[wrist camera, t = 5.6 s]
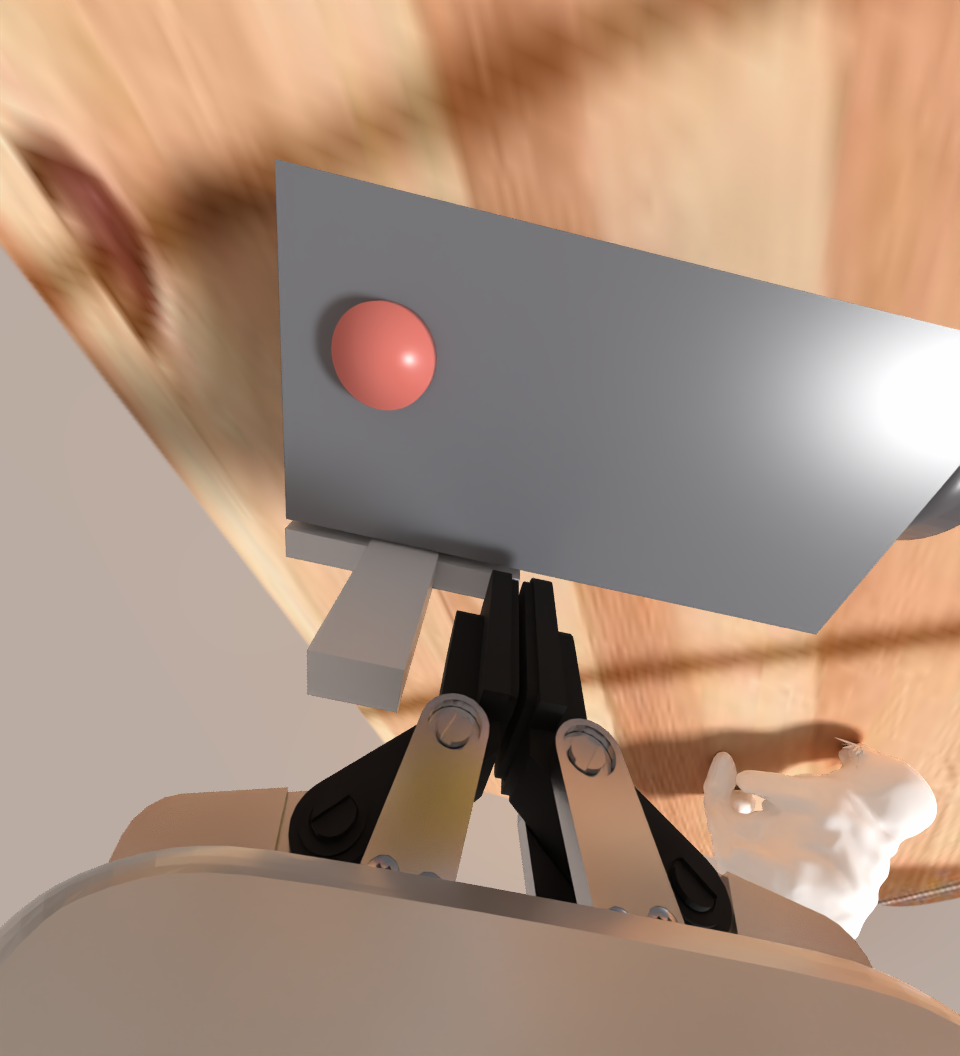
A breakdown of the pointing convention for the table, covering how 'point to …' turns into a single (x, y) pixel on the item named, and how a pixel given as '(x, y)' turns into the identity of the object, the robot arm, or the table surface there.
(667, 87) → the table surface
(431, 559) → the grey t-shaped piece
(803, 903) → the white figurine
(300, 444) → the camera body
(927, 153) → the table surface
